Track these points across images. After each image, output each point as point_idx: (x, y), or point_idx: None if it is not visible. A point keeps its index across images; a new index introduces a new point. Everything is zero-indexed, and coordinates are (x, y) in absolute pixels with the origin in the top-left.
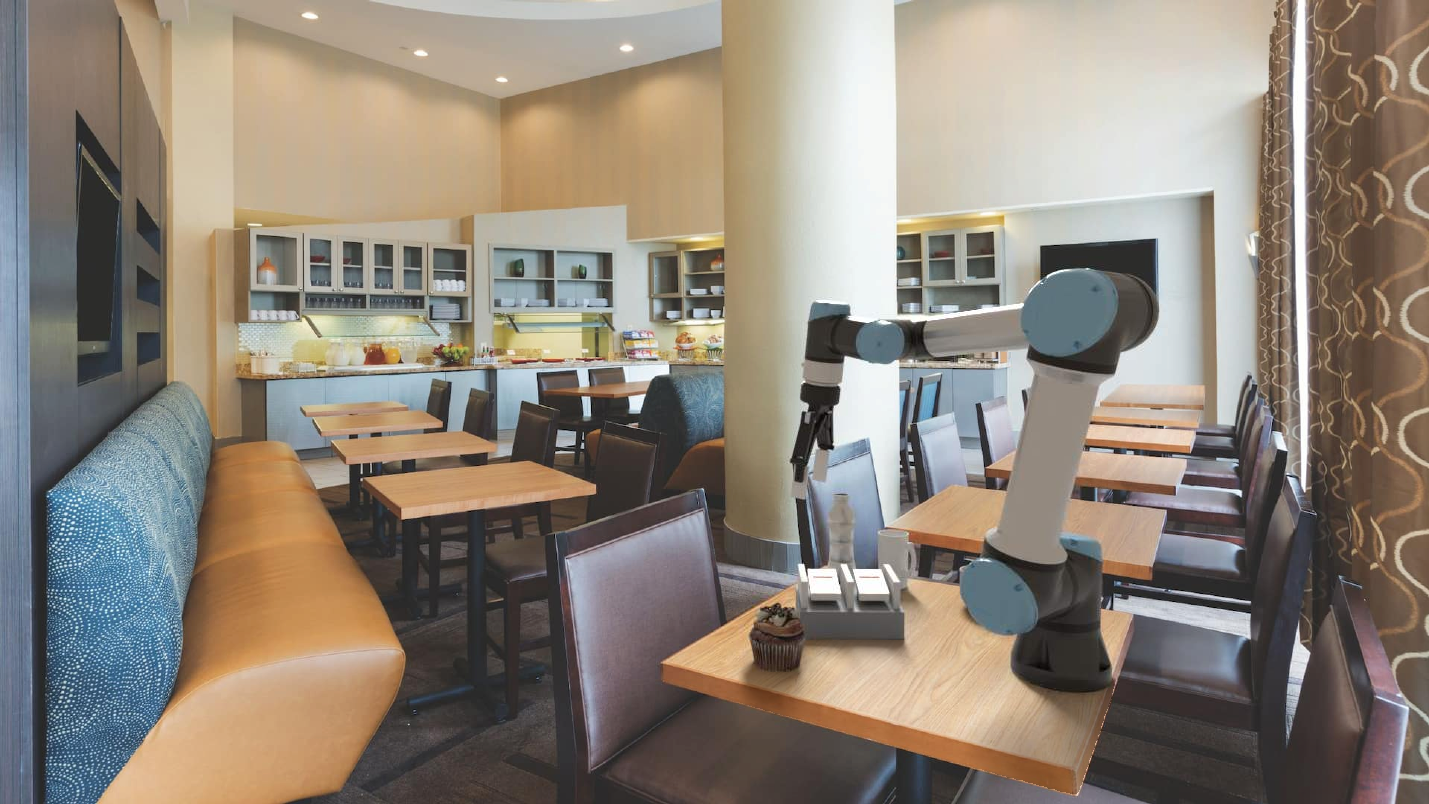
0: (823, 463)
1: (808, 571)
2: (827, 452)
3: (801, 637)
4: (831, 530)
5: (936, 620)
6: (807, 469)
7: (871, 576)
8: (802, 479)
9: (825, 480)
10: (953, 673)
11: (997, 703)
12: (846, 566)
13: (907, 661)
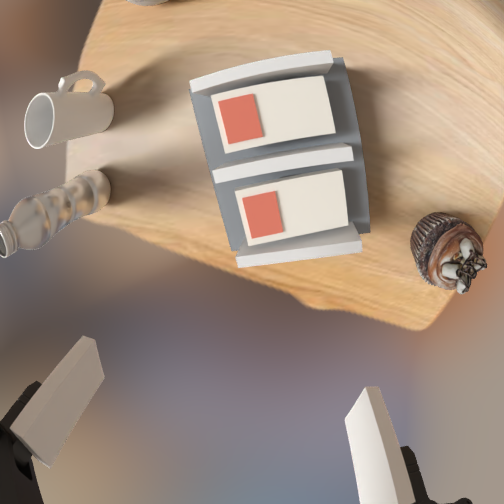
0: (59, 404)
1: (259, 243)
2: (27, 436)
3: (468, 224)
4: (57, 230)
5: (236, 25)
6: (410, 489)
7: (256, 110)
8: (405, 457)
9: (86, 341)
10: (431, 33)
11: (479, 23)
12: (231, 168)
13: (414, 75)
